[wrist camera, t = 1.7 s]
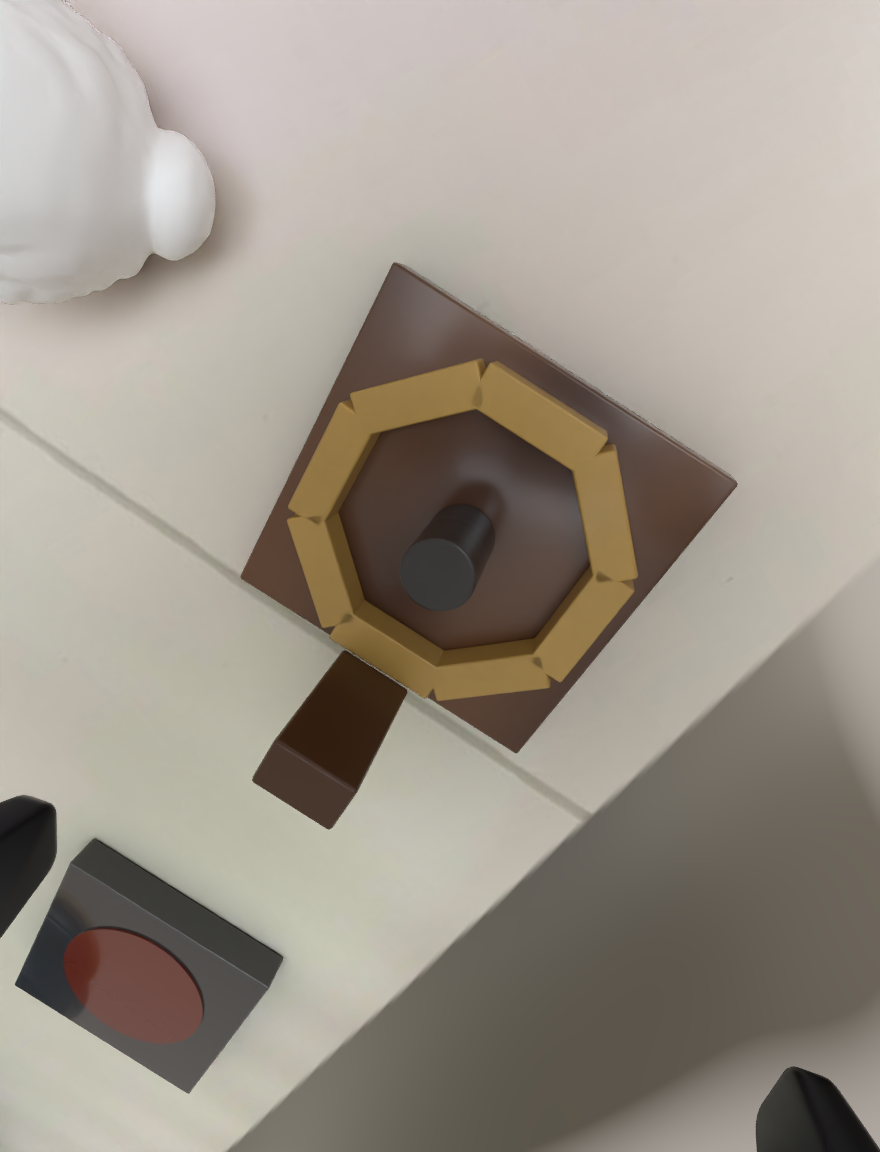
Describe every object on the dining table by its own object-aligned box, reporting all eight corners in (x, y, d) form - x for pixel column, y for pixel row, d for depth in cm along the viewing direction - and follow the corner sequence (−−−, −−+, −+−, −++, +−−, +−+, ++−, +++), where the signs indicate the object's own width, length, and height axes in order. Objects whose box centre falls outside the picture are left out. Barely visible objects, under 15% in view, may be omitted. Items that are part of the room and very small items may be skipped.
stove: (284, 957, 30) (268, 990, 28) (204, 1063, 34) (187, 1096, 32) (94, 837, 30) (68, 864, 28) (37, 958, 34) (12, 987, 32)
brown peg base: (732, 476, 19) (772, 518, 15) (519, 738, 23) (503, 827, 19) (403, 263, 19) (349, 246, 14) (252, 567, 23) (178, 620, 19)
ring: (700, 491, 18) (750, 567, 12) (484, 761, 23) (449, 908, 17) (402, 299, 18) (315, 287, 12) (246, 609, 22) (128, 705, 17)
